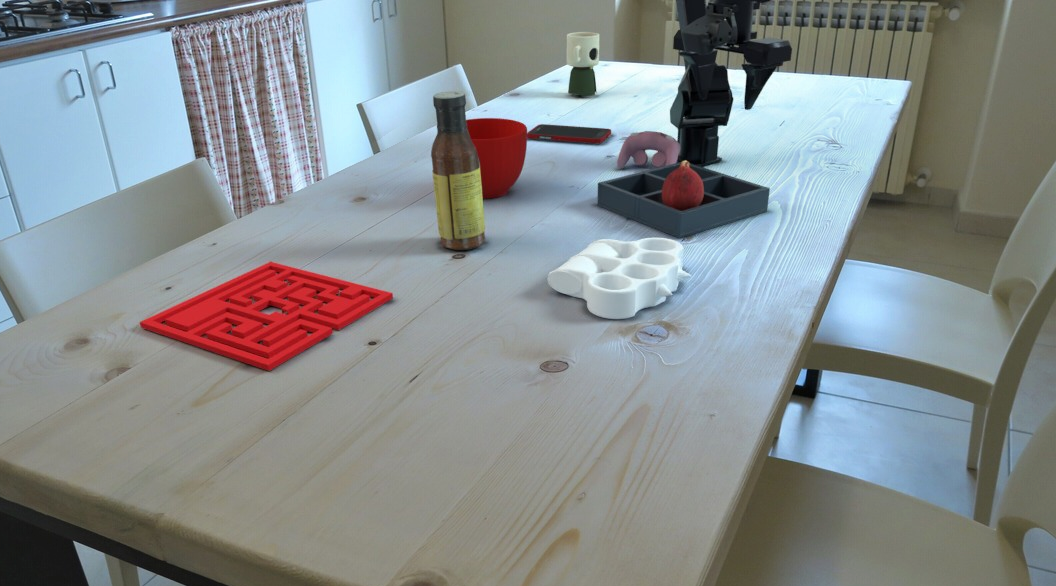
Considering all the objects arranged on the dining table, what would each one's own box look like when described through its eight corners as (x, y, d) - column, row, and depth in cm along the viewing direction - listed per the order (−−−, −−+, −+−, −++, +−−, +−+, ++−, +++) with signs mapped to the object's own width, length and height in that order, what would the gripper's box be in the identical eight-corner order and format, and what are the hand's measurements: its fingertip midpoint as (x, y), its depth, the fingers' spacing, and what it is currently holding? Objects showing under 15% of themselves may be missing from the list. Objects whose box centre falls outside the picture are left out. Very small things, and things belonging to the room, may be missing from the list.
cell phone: (601, 144, 161) (601, 139, 160) (525, 138, 165) (525, 133, 165) (612, 134, 167) (612, 128, 166) (539, 128, 172) (539, 123, 171)
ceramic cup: (409, 200, 136) (404, 135, 131) (486, 174, 147) (483, 113, 142) (468, 218, 128) (465, 150, 123) (545, 189, 139) (544, 126, 134)
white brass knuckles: (602, 250, 116) (709, 271, 109) (533, 302, 103) (650, 329, 96) (603, 226, 114) (711, 246, 108) (533, 275, 101) (652, 301, 94)
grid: (597, 205, 132) (597, 182, 130) (681, 182, 140) (683, 161, 139) (679, 238, 119) (681, 213, 118) (767, 211, 128) (770, 188, 126)
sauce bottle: (492, 238, 121) (486, 89, 112) (475, 254, 116) (468, 100, 106) (448, 233, 123) (438, 87, 113) (429, 249, 118) (418, 98, 108)
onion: (701, 225, 122) (706, 168, 118) (659, 223, 123) (662, 166, 119) (702, 211, 127) (706, 156, 123) (661, 209, 128) (664, 154, 124)
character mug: (590, 102, 191) (592, 38, 185) (559, 100, 194) (559, 37, 187) (604, 91, 200) (605, 30, 194) (574, 89, 202) (574, 29, 196)
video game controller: (677, 178, 147) (685, 136, 147) (671, 173, 143) (679, 130, 143) (621, 172, 151) (628, 131, 151) (613, 167, 147) (621, 125, 146)
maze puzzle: (269, 370, 90) (268, 365, 89) (140, 327, 99) (139, 322, 99) (393, 298, 104) (392, 293, 104) (271, 266, 114) (270, 261, 113)
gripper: (649, -6, 131) (644, 101, 138) (745, 5, 117) (734, 124, 125) (703, -13, 136) (695, 91, 144) (800, -2, 122) (786, 112, 130)
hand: (724, 104), depth 135 cm, fingers open, 9 cm apart
